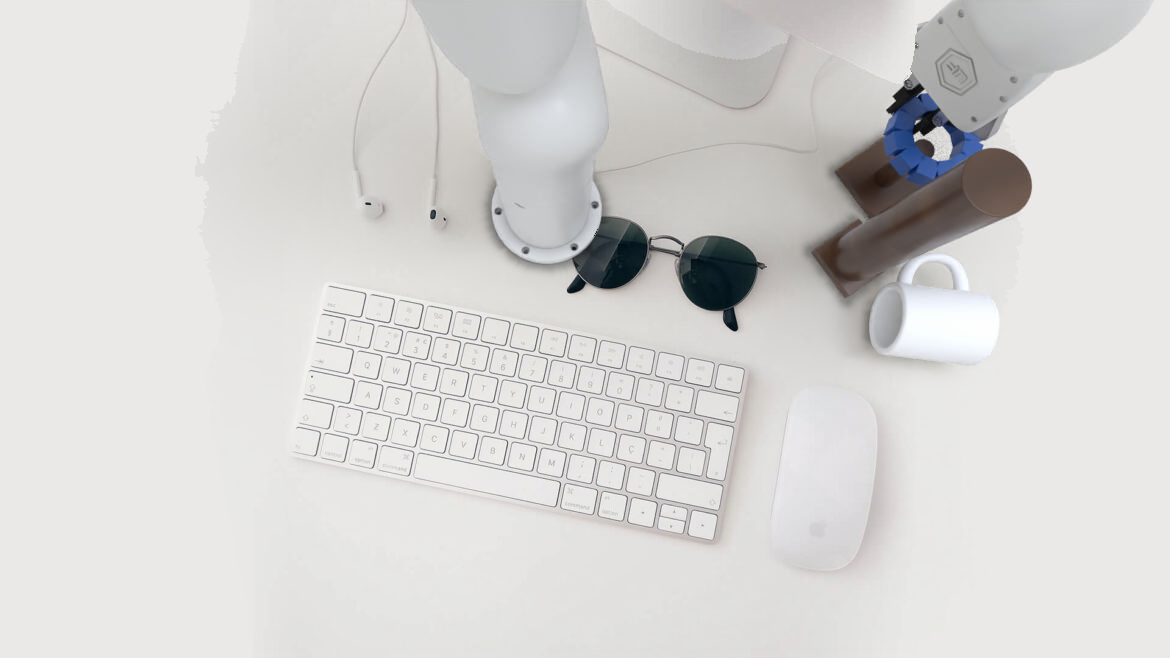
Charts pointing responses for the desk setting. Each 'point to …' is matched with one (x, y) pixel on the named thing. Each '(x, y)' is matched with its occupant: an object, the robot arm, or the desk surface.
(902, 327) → the mug
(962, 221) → the brown cylinder
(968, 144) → the ring
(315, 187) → the desk surface
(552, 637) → the desk surface
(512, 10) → the robot arm
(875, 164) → the post stand
